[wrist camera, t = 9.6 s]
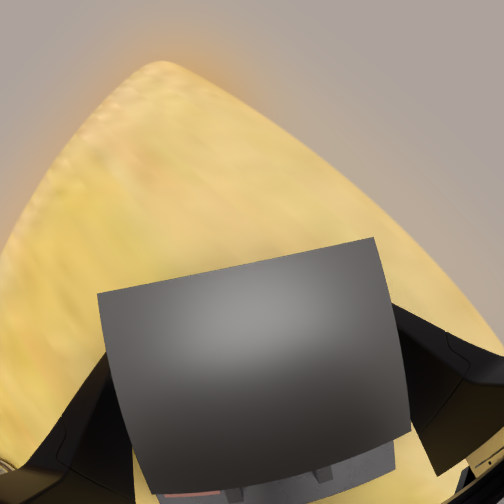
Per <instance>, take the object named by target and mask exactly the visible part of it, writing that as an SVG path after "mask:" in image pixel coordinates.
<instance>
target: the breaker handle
mask: <svg viewBox="0 0 504 504" xmlns="http://www.w3.org/2000/svg"><path fill="white" fill-rule="evenodd" d="M97 297H98V305H99V312H100V318H101V325H102V331H103V336H104V342H105V347H106V352H107V357H108V361H109V366H110V370H111V375H112V379H113V383H114V387H115V391H116V395H117V398H118V402H119V405H120V409H121V412H122V416H123V419H124V422H125V425H126V429H127V432H128V435H129V438H130V441H131V443H132V446H133V449H134V452H135V455H136V457H137V460H138V462H139V465H140V468H141V470H142V473H143V475H144V477H145V480H146V482H147V485H148V487H149V489H150V491H151V494H187V493H200V492H211V491H220V490H227V489H234V488H241V487H247V486H252V485H258V484H263V483H267V482H272V481H277V480H281V479H285V478H289V477H293V476H297V475H300V474H304V473H307V472H311V471H314V470H317V469H321V468H324V467H327V466H330V465H333V464H336V463H339V462H341V461H344V460H347V459H350V458H352V457H355V456H357V455H360V454H362V453H365V452H367V451H370V450H372V449H374V448H377V447H379V446H381V445H383V444H386V443H388V442H390V441H392V440H394V439H396V438H398V437H400V436H402V435H404V434H406V433H408V432H410V431H411V420H410V409H409V400H408V392H407V385H406V378H405V371H404V364H403V358H402V353H401V347H400V342H399V336H398V331H397V326H396V322H395V317H394V312H393V308H392V304H391V299H390V295H389V291H388V287H387V283H386V279H385V275H384V272H383V268H382V264H381V261H380V257H379V254H378V250H377V247H376V244H375V240H374V237H371V238H366V239H362V240H357V241H353V242H348V243H343V244H339V245H334V246H330V247H325V248H320V249H315V250H311V251H306V252H301V253H297V254H292V255H287V256H282V257H278V258H273V259H268V260H263V261H258V262H254V263H249V264H244V265H239V266H234V267H229V268H224V269H220V270H215V271H210V272H205V273H200V274H195V275H190V276H185V277H180V278H175V279H170V280H165V281H160V282H155V283H150V284H145V285H139V286H134V287H129V288H124V289H119V290H114V291H108V292H103V293H98V294H97Z"/></svg>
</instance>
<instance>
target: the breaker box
mask: <svg viewBox="0 0 504 504" xmlns="http://www.w3.org/2000/svg"><path fill="white" fill-rule="evenodd" d="M393 470H395V455H394V443H393V440H392V441H390V442H388V443H386V444H383V445H381V446H379V447H377V448H374V449H372V450H370V451H367V452H365V453H362V454H360V455H357V456H355V457H352V458H350V459H347V460H344V461H341V462H339V463H336V464H333V465H330V466H327V467H324V468H321V469H317V470H314V471H311V472H307V473H304V474H300V475H297V476H293V477H289V478H285V479H281V480H277V481H272V482H267V483H263V484H258V485H252V486H247V487H241V488H234V489H227V490H220V491H211V492H200V493H187V494H156V496H157V498H158V500H159V503H160V504H306V503H309V502H313V501H316V500H319V499H322V498H326V497H329V496H332V495H335V494H338V493H340V492H343V491H346V490H349V489H351V488H354V487H356V486H359V485H361V484H364V483H366V482H369V481H371V480H373V479H376V478H378V477H380V476H382V475H384V474H387V473H389V472H391V471H393Z"/></svg>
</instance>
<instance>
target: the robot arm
mask: <svg viewBox="0 0 504 504" xmlns="http://www.w3.org/2000/svg"><path fill="white" fill-rule="evenodd" d="M391 304H392V308H393V312H394V317H395V322H396V326H397V331H398V336H399V342H400V347H401V353H402V358H403V364H404V371H405V378H406V385H407V392H408V400H409V409H410V420H411V422H412V424H413V426H414V428H415V430H416V432H417V434H418V437H419V439H420V441H421V443H422V445H423V447H424V449H425V451H426V454H427V456H428V458H429V460H430V462H431V465H432V467H433V469H434V471H435V473H436V475H437V477H438V476H440V475H441V474H443V473H444V472H446V471H447V470H449V469H450V468H452V467H453V466H455V465H456V464H458V463H459V462H461V461H462V460H463V459H466V460H467V462H468V464H469V466H468V467H466V468H465V469H464V470H462V472H461V476H460V479H459V482H458V485H457V488H456V491H455V494H454V495H453V496H452V497H450V498H449V499H447V500H446V501H444V502H443V503H441V504H504V357H503V356H499V355H497V354H494V353H492V352H489V351H487V350H485V349H482V348H480V347H477V346H475V345H473V344H471V343H468V342H466V341H464V340H462V339H460V338H458V337H456V336H454V335H452V334H450V333H448V332H445V331H444V330H443V329H441V328H439V327H437V326H435V325H433V324H431V323H429V322H427V321H426V320H424V319H422V318H420V317H418V316H416V315H414V314H412V313H410V312H408V311H406V310H405V309H403V308H401V307H399V306H397V305H395V304H393V303H391ZM0 504H136V502H135V490H134V477H133V457H132V443H131V441H130V438H129V435H128V432H127V429H126V425H125V422H124V419H123V416H122V412H121V409H120V405H119V402H118V398H117V395H116V391H115V387H114V383H113V379H112V375H111V370H110V366H109V361H108V357H107V352H105V354H104V355H103V356H102V358H101V359H100V361H99V362H98V363H97V365H96V366H95V367H94V369H93V370H92V372H91V373H90V374H89V376H88V377H87V379H86V380H85V382H84V383H83V384H82V386H81V387H80V389H79V390H78V392H77V393H76V394H75V396H74V397H73V399H72V400H71V402H70V403H69V405H68V406H67V408H66V409H65V411H64V412H63V414H62V417H60V418H59V420H58V421H57V423H56V424H55V426H54V427H53V428H52V430H51V431H50V433H49V434H48V436H47V437H46V438H45V439H44V441H43V442H42V443H41V445H40V446H39V447H38V448H37V450H36V451H35V452H34V454H33V455H32V456H31V457H30V459H29V460H28V461H27V462H26V463H25V464H24V465H23V466H22V467H20V468H18V469H16V470H13V471H10V472H7V473H4V474H0Z"/></svg>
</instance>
